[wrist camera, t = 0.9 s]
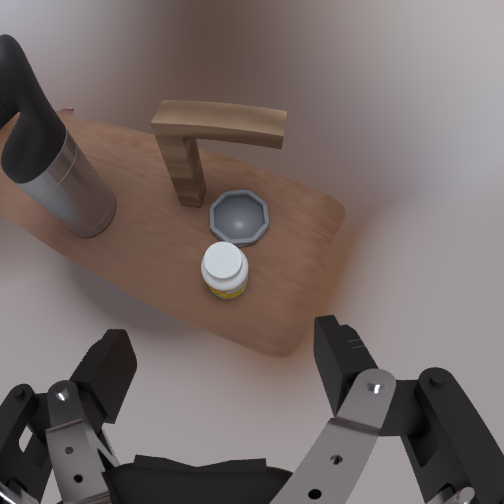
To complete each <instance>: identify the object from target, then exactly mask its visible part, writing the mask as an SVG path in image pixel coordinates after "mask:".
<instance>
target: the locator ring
mask: <svg viewBox="0 0 504 504" xmlns="http://www.w3.org/2000/svg"><path fill="white" fill-rule="evenodd" d="M265 203H266V202H265V201H264V200H262V199H261V198H259V197H258V196H257V195H255V194H254V193H252V192H251V191H250V190H249V191H248V192H247V190H234V191H226V193H225V192H224V193H223V194H222V195H221V196H220V197H219V198H218V199H217V200H216V201H215V202H214V203H213V204H212V205H211V206H210V208H209V211H210V229H211V231H212V233H213V234H214V235H215V236H216V237H217V239H219V240H220V241H221V242H229V243H231V244H233V245H235V246H236V247H246V246H249V245H252V244H254V243H255V242H257V241H258V240H259V239H260V238H261V237H262V236H263V235H264V233H265V231H266V230H267V229H268V226H269V217H268V210H267V204H265Z"/></svg>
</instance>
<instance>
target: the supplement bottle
mask: <svg viewBox="0 0 504 504" xmlns="http://www.w3.org/2000/svg"><path fill="white" fill-rule="evenodd" d="M201 272H202V275H203V278H204V280H205V281H206V283H207V285H208V287H209V288H210V290H211V291H212V292H213V293H214V294H215V295H216V296H218V297H220V298H223V299H233V298H235V297H237V296H239V295H240V294H241V293H242V292H243V291H244V290H245V288H246V286H247V281H248V262H247V259H246V257H245V255H244V254H243V252H242V251H241V250H239V249H238V248H237V247H236V246H235V245H233V244H231V243H229V242H217V243H215V244H213V245H212V246H210V247H209V248H208V249H207V251H206V253H205V255H204V258H203V260H202V264H201Z"/></svg>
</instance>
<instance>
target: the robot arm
mask: <svg viewBox="0 0 504 504" xmlns="http://www.w3.org/2000/svg"><path fill="white" fill-rule="evenodd" d="M18 112H20V115H19V118H18V120H17V123H16V125H15V127H14V128H13V130H12V132H11V134H10V136H9V137H8V139H7V141H6V143H5V146H4V148H3V152H2V156H1V166H2V169H3V171H4V173H5V174H6V175H7V176H8V177H9V178H10V179H11V180H12V181H14V182H15V183H16V184H17V185H18V186H19V187H20V188H21V189H22V190H23V191H25V192H26V193H27V194H28V195H29V196H30V197H32V198H33V199H34V200H35V201H36V202H37V203H39V204H40V205H41V206H42V207H43V208H45V209H46V210H47V211H48V212H49V213H51V214H52V215H53V216H54V217H55V218H57V219H58V220H59V221H60V222H62V223H63V224H64V225H65V226H67V227H68V228H69V229H70V230H72V231H73V232H74V233H76V234H77V235H78V236H81V237H92V236H95V235H97V234H99V233H100V232H102V231H103V230H104V229H105V228H106V227H107V226H108V225H109V223H110V222H111V220H112V218H113V216H114V213H115V209H116V200H115V197H114V195H113V193H112V192H111V190H110V189H109V188H108V186H107V185H106V184H105V182H104V181H103V180H102V178H101V177H100V176H99V174H98V173H97V171H96V170H95V169H94V167H93V166H92V165H91V163H90V162H89V160H88V159H87V158H86V156H85V155H84V153H83V152H82V151H81V149H80V148H79V146H78V145H77V143H76V142H75V140H74V139H73V138H72V136H71V135H70V133H69V132H68V130H67V129H66V127H65V125H64V124H63V123H62V121H61V120H60V118H59V117H58V115H57V114H56V112H55V111H54V110H53V108H52V107H51V105H50V103H49V102H48V100H47V98H46V97H45V95H44V93H43V91H42V89H41V87H40V85H39V83H38V81H37V79H36V77H35V75H34V73H33V70H32V68H31V66H30V64H29V62H28V60H27V58H26V56H25V53H24V52H23V50H22V48H21V46H20V45H19V43H18V42H17V41H16V40H15V39H14V38H13V37H11V36H10V35H6V34H4V35H1V36H0V129H1V128H2V127H3V126H4V125H5V124H6V123H7V122H8V121H9V120H10V119H12V118H13V117H14V116H15V115H16V114H17V113H18ZM314 324H315V325H314V357H315V361H316V364H317V367H318V370H319V373H320V376H321V379H322V382H323V385H324V388H325V391H326V394H327V397H328V399H329V403H330V406H331V409H332V412H333V415H334V418H331V419H330V420H329V421H328V422H327V424H326V426H325V427H324V429H323V430H322V432H321V434H320V435H319V437H318V438H317V440H316V441H315V443H314V445H313V446H312V447H311V449H310V451H309V452H308V453H307V455H306V456H305V458H304V459H303V461H302V462H301V463H300V465H299V466H298V468H297V469H296V470H295V472H294V473H292V472H290V471H287V470H284V469H280V468H275V467H268V466H266V459H265V458H263V459H248V460H230V461H226V462H221V463H217V464H211V465H206V466H201V467H194V466H190V465H186V464H183V463H179V462H176V461H173V460H169V459H166V458H159V457H150V456H143V455H136V456H135V459H134V463H128V464H123V465H120V464H119V462H118V460H117V458H116V456H115V454H114V452H113V449H112V447H111V445H110V443H109V440H108V438H107V436H106V433H105V431H104V429H103V428H102V425H103V423H104V422H105V423H111V424H114V423H115V421H116V418H117V415H118V413H119V411H120V408H121V406H122V403H123V401H124V398H125V396H126V393H127V391H128V389H129V386H130V384H131V381H132V379H133V377H134V374H135V372H136V369H137V360H136V356H135V353H134V351H133V348H132V345H131V342H130V339H129V337H128V334H127V332H126V331H125V330H124V329H109V330H107V332H106V333H105V334H104V336H103V338H102V339H101V340H99V341H97V342H96V343H95V344H94V345H92V346H91V347H90V349H89V350H88V352H87V353H86V355H85V356H84V358H83V359H82V361H81V362H80V364H79V365H78V367H77V369H76V370H75V371H74V373H73V374H72V376H71V378H70V379H69V380H63V381H59V382H57V383H55V384H54V385H52V386H51V387H50V388H49V390H48V392H47V393H40V394H35V392H34V391H33V389H32V388H31V386H30V385H28V384H20V385H17V386H15V387H14V388H13V389H12V390H11V391H10V392H9V394H8V395H7V397H6V398H5V400H4V401H3V403H2V404H1V406H0V504H40V503H41V500H42V497H43V494H44V490H45V487H46V484H47V482H48V479H49V476H50V473H51V470H52V468H53V470H54V474H55V478H56V481H57V485H58V488H59V491H60V494H61V498H62V501H60V502H59V503H57V504H345V502H346V501H347V499H348V497H349V496H350V494H351V492H352V490H353V488H354V486H355V485H356V483H357V481H358V479H359V477H360V475H361V473H362V471H363V469H364V467H365V465H366V462H367V460H368V458H369V456H370V454H371V452H372V449H373V447H374V444H375V443H376V440H377V438H378V436H400V437H401V440H402V442H403V444H404V447H405V449H406V452H407V455H408V457H409V460H410V463H411V465H412V468H413V471H414V473H415V476H416V479H417V482H418V484H419V487H420V490H421V493H422V496H423V499H424V502H425V504H504V455H503V454H502V452H501V450H500V448H499V446H498V445H497V443H496V441H495V440H494V438H493V436H492V435H491V433H490V431H489V429H488V428H487V426H486V425H485V423H484V422H483V420H482V418H481V417H480V415H479V414H478V412H477V410H476V409H475V407H474V406H473V404H472V403H471V401H470V400H469V398H468V397H467V395H466V394H465V392H464V391H463V390H462V388H461V387H460V385H459V384H458V382H457V381H456V380H455V378H454V377H453V375H452V374H451V373H450V372H448V371H447V370H445V369H442V368H437V367H434V368H428V369H426V370H424V371H423V372H422V373H421V374H420V376H419V379H418V380H395V378H394V376H393V375H392V374H391V373H389V372H388V371H385V370H382V369H379V368H378V367H377V365H376V363H375V361H374V360H373V358H372V357H371V355H370V353H369V351H368V350H367V348H366V347H365V346H364V343H363V342H362V340H361V339H360V337H359V335H358V334H357V332H356V330H354V329H353V328H351V327H350V326H348V325H341V326H340V325H339V323H338V321H337V320H336V318H335V316H334V315H327V316H319V317H315V322H314ZM26 426H27V427H28V428H29V429H30V431H31V432H32V433H33V434H32V436H31V439H30V441H29V443H28V445H27V447H26V449H25V451H24V453H23V452H22V451H21V449H20V447H19V439H20V437H21V435H22V433H23V431H24V429H25V427H26Z"/></svg>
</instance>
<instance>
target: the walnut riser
mask: <svg viewBox="0 0 504 504" xmlns="http://www.w3.org/2000/svg"><path fill="white" fill-rule="evenodd" d="M286 116H287V111H281V110H275V109H269V108H261V107H254V106H246V105H237V104H226V103H215V102H200V101H179V100H162V102H161V104H160V106H159V108H158V110H157V112H156V113H155V115H154V117H153V119H152V121H151V126H152V128H153V131H154V134H155V137H156V140H157V142H158V145H159V148H160V150H161V153H162V156H163V159H164V161H165V164H166V166H167V169H168V172H169V174H170V177H171V180H172V182H173V185H174V187H175V190H176V192H177V195H178V197H179V200H180V202H181V205H184V206H192V207H199V208H201V204H202V200H203V197H204V193H205V189H206V186H205V181H204V176H203V171H202V166H201V161H200V156H199V151H198V146H197V141H196V138H198V139H199V138H200V139H209V140H219V141H227V142H236V143H244V144H251V145H258V146H265V147H271V148H277V149H281V148H282V143H283V137H284V130H285V122H286Z"/></svg>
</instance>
